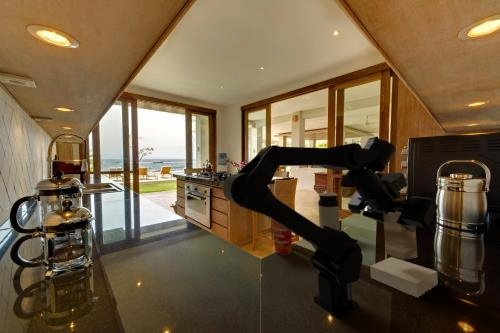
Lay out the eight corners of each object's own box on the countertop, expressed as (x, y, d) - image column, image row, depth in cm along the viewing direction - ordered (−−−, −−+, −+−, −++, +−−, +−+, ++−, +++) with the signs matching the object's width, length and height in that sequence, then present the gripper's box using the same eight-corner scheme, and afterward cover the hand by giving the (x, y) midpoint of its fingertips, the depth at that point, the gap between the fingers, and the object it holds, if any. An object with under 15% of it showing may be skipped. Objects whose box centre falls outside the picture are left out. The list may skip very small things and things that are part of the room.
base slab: (417, 298, 44) (416, 283, 44) (370, 277, 52) (370, 266, 53) (437, 284, 48) (436, 271, 49) (392, 267, 57) (391, 256, 57)
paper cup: (268, 252, 71) (266, 212, 72) (280, 246, 77) (278, 209, 77) (287, 258, 66) (285, 215, 66) (299, 251, 72) (297, 211, 72)
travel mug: (336, 241, 80) (333, 195, 81) (316, 237, 85) (314, 194, 86) (343, 236, 86) (340, 193, 86) (324, 232, 91) (322, 192, 92)
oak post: (402, 259, 48) (399, 204, 48) (385, 252, 52) (382, 202, 53) (417, 257, 49) (413, 203, 50) (399, 250, 53) (396, 200, 54)
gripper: (429, 158, 41) (463, 208, 45) (353, 163, 59) (382, 199, 62) (405, 200, 38) (444, 250, 42) (333, 193, 56) (364, 228, 59)
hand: (403, 227), depth 51 cm, fingers closed on oak post, 5 cm apart
